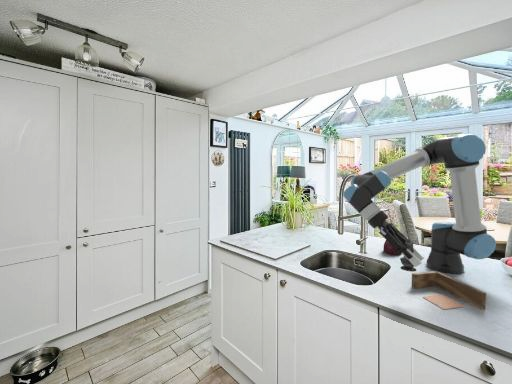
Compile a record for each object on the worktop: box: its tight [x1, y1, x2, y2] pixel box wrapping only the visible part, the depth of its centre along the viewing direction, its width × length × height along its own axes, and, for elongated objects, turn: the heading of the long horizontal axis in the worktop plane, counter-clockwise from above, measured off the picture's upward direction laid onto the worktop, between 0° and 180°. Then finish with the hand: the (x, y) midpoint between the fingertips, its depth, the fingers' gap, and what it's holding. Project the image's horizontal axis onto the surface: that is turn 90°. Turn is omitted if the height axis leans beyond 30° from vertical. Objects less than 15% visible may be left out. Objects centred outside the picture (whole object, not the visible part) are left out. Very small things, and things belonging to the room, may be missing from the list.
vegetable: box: [382, 239, 403, 256], centre depth 151 cm, size 10×10×15 cm
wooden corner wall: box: [411, 270, 487, 310], centre depth 97 cm, size 12×20×6 cm, turn 9°
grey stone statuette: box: [399, 238, 417, 273], centre depth 97 cm, size 6×6×12 cm
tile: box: [422, 293, 466, 311], centre depth 94 cm, size 9×9×1 cm
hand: (419, 262), depth 95 cm, fingers closed on grey stone statuette, 5 cm apart
